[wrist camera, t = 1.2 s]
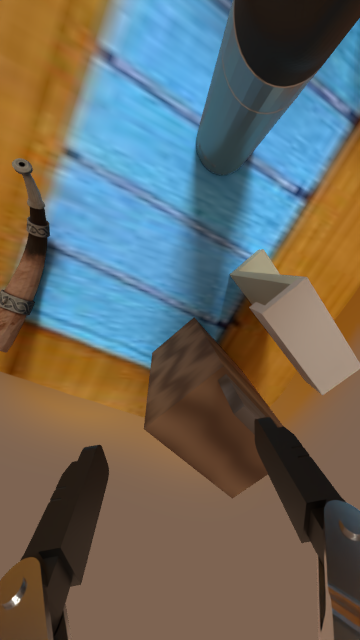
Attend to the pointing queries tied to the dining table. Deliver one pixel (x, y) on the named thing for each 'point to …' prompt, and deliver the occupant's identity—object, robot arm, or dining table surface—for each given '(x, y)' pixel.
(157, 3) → the dining table surface
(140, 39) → the dining table surface
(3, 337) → the drinking horn
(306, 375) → the white angled bracket
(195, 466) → the cabinet
